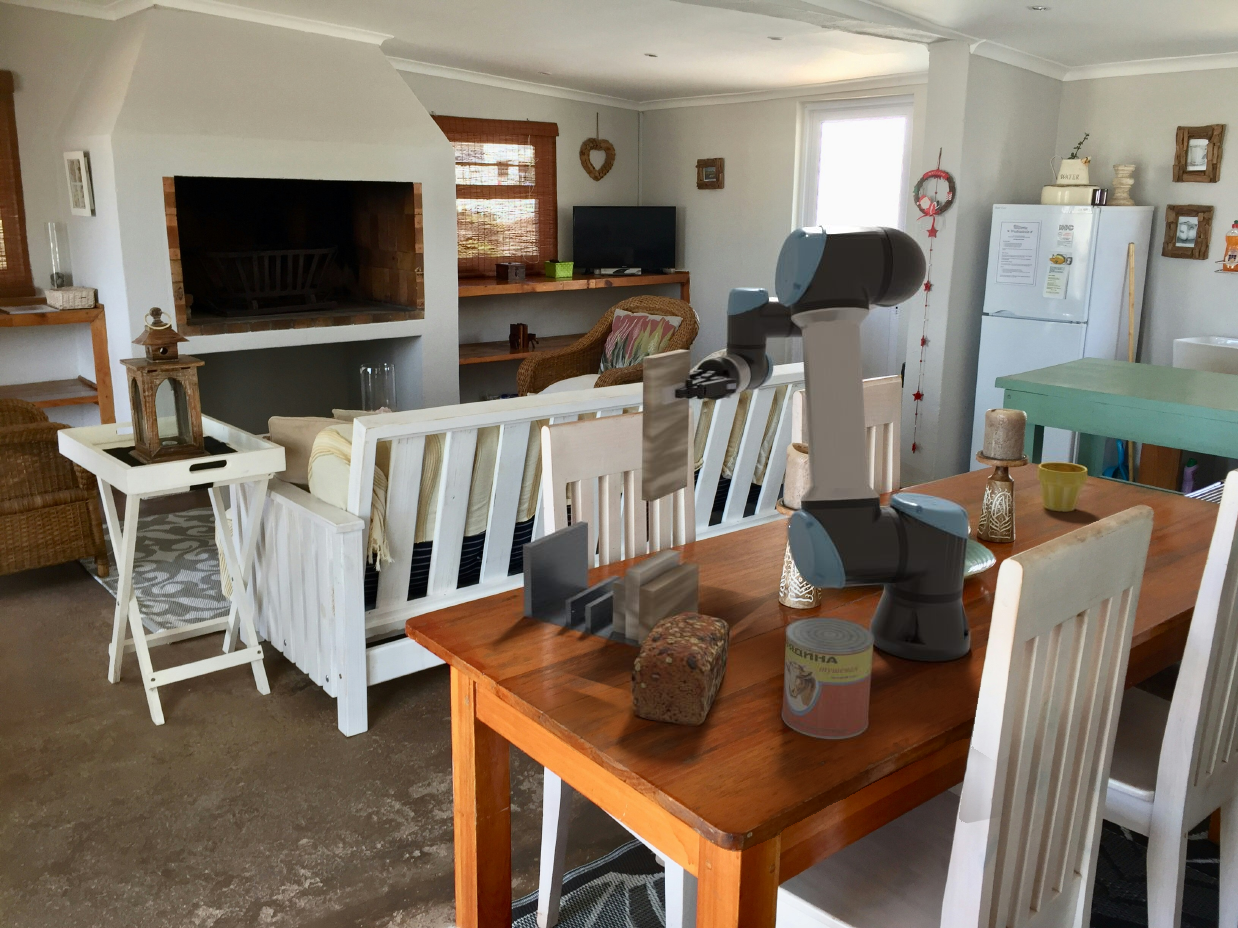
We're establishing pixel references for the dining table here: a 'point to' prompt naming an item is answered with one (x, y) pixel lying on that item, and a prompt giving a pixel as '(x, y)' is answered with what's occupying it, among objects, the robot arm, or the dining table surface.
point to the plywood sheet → (664, 426)
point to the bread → (680, 668)
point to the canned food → (827, 677)
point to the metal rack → (568, 585)
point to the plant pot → (1061, 484)
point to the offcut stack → (654, 593)
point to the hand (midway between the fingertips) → (656, 395)
